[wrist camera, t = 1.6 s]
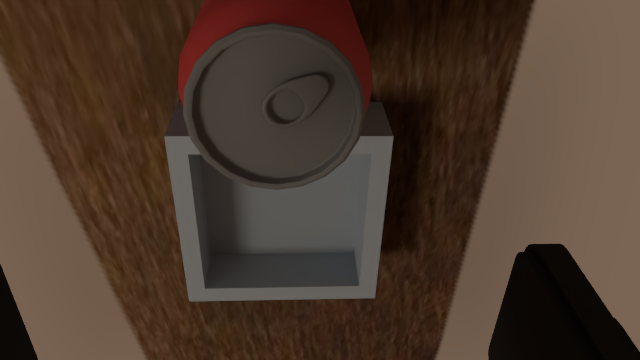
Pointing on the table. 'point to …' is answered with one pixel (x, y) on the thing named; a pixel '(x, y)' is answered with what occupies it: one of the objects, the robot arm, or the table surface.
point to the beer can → (275, 88)
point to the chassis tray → (282, 224)
